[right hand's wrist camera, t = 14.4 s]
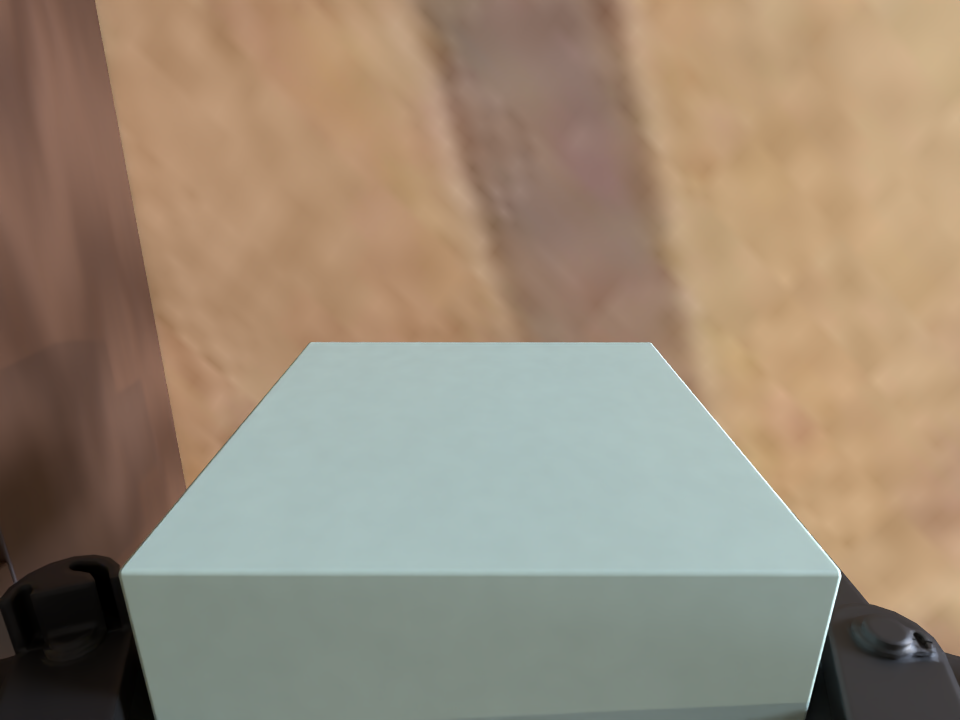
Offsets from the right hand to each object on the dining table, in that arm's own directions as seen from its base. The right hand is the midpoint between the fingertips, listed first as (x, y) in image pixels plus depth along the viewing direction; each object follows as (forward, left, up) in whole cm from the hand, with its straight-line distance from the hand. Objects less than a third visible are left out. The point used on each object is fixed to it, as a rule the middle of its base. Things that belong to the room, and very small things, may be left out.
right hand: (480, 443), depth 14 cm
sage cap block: (0, 0, +1) cm, 1 cm away
